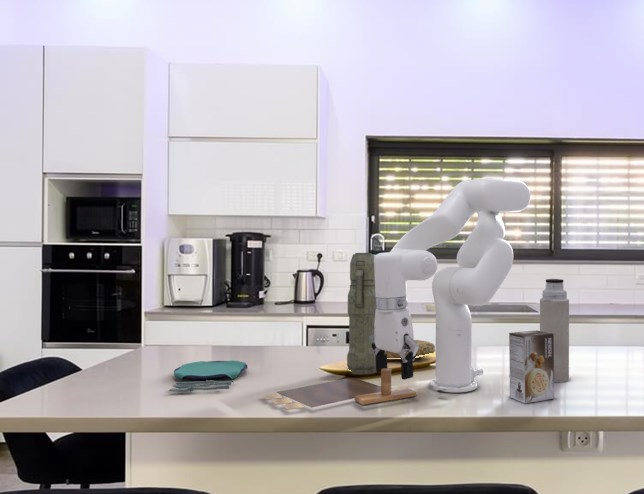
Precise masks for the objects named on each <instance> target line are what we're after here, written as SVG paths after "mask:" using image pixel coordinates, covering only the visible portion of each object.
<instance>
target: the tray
mask: <svg viewBox="0 0 644 494" xmlns="http://www.w3.org/2000/svg"><path fill="white" fill-rule="evenodd" d="M377 392H381V385H378V384H375V383H371V382H368V381H365V380H362V379H359V378H356V377H353V376H352V377H348V378H343V379H342V378H341V379H338V380H332V381H326V382H321V383H315V384H312V385H311V384H310V385H305V386H302V387H301V386H300V387H294V388H290V389H285V390H280V391H276V394H277V393H278V394H279V395H281V396H284V397H285V398H288V399H290V400H293V401H295V402H297V403H300V404H301V405H303V406H304V405H305V406H307V407H309V408H312V409H313V408H317V407H322V406H326V405H330V404H334V403H339V402H344V401H348V400H352V399H355V396H358V395H364V394H371V393H377Z"/></svg>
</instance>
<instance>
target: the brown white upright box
mask: <svg viewBox="0 0 644 494" xmlns="http://www.w3.org/2000/svg"><path fill="white" fill-rule="evenodd" d="M508 334H509V335H508V338H509V339H508V340H509V341H508V343H509V344H508V347H509V351H508V352H509V353H508V354H509V355H508V356H509V357H508V358H509V398H511V399H513V400H516V401H518V402H521V403H523V404H530V403H535V402H543V401H547V400H553V399H555V382H554V334H553V333H548V332H543V331H540V330H527V331H514V332H508Z"/></svg>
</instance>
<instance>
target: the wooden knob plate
mask: <svg viewBox="0 0 644 494" xmlns="http://www.w3.org/2000/svg"><path fill="white" fill-rule="evenodd" d="M380 386H381V392H377V393H371V394H364V395H358V396H355V398H354V401H355V402H356V403H358V404H359V405H361V406H363V407H364V406H369V405H370V406H371V405H375V404H381V403H387V402H392V401H399V400H405V399H411V398H416V397H417V396H418V393H417V391H415V390H413V389H411V388H409V387H403V388H397V389H392V369H391V368H389V367H388V368H383V369H381V372H380Z"/></svg>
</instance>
